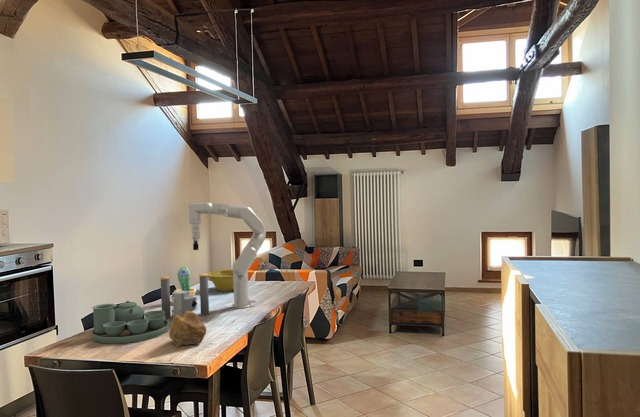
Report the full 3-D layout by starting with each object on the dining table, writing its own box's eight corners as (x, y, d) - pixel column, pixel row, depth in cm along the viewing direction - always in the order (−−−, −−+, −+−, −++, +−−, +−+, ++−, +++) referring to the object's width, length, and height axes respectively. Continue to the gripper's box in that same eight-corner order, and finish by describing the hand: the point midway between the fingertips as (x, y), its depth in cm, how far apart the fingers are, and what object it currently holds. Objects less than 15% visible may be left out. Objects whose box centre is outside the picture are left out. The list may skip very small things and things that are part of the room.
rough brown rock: (197, 352, 224) (199, 320, 224) (163, 348, 226) (165, 317, 226) (213, 338, 247) (214, 310, 247) (182, 336, 249) (184, 307, 249)
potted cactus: (169, 303, 329) (168, 267, 329) (183, 298, 344) (182, 264, 343) (187, 304, 324) (186, 268, 323) (201, 299, 338) (200, 265, 337)
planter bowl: (244, 293, 358) (243, 275, 357) (202, 294, 358) (201, 276, 358) (251, 285, 390) (250, 269, 390) (212, 286, 390) (211, 270, 390)
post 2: (208, 312, 298) (207, 273, 297) (209, 314, 293) (208, 274, 292) (200, 313, 296) (199, 274, 296) (200, 315, 291) (199, 275, 291)
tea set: (120, 349, 230) (118, 315, 230) (76, 337, 253) (75, 306, 252) (185, 329, 263) (184, 299, 263) (141, 320, 286) (140, 293, 285)
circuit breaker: (193, 318, 286) (192, 293, 286) (172, 317, 289) (171, 293, 289) (199, 314, 294) (198, 291, 293) (178, 314, 296) (177, 290, 296)
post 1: (170, 316, 291) (169, 276, 291) (170, 318, 286) (169, 277, 286) (162, 317, 290) (160, 277, 289) (161, 319, 285) (160, 278, 284)
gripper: (201, 222, 302) (202, 250, 302) (200, 221, 316) (201, 248, 316) (189, 222, 299) (190, 251, 300) (188, 221, 314) (189, 249, 314)
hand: (195, 249), depth 308 cm, fingers closed
